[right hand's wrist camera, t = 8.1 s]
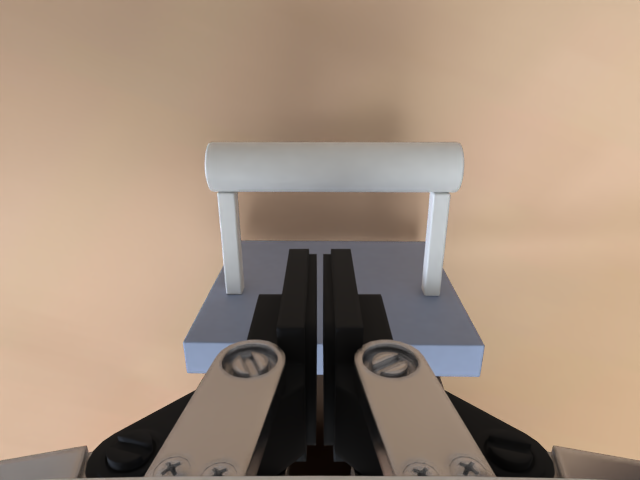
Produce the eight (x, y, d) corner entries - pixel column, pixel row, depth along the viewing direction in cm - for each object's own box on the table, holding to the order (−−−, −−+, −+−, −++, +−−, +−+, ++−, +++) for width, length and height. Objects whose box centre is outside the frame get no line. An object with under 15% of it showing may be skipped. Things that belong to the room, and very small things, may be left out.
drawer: (227, 122, 20) (157, 163, 12) (439, 122, 20) (514, 163, 12) (258, 525, 30) (231, 699, 22) (402, 528, 29) (429, 704, 21)
